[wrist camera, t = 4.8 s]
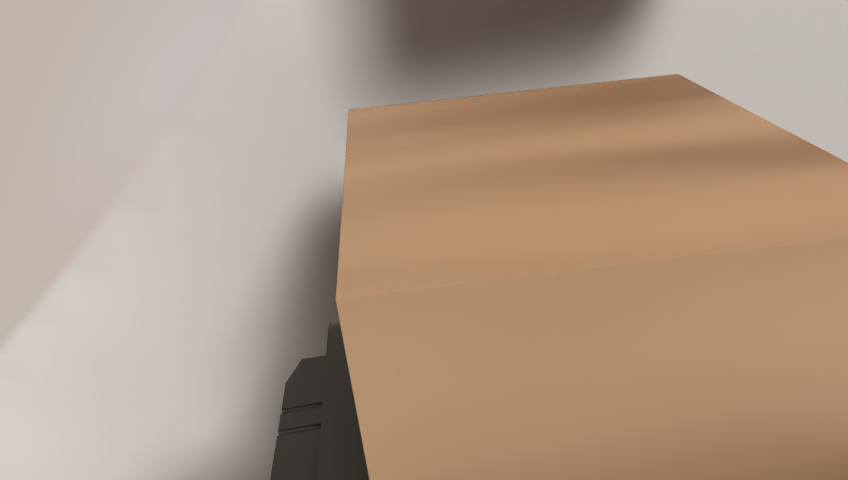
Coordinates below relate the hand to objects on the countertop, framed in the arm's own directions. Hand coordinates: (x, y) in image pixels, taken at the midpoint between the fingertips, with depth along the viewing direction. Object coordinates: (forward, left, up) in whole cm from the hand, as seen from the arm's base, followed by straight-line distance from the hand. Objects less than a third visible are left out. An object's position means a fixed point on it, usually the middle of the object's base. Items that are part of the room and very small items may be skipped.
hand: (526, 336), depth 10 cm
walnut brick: (0, 0, -1) cm, 1 cm away
